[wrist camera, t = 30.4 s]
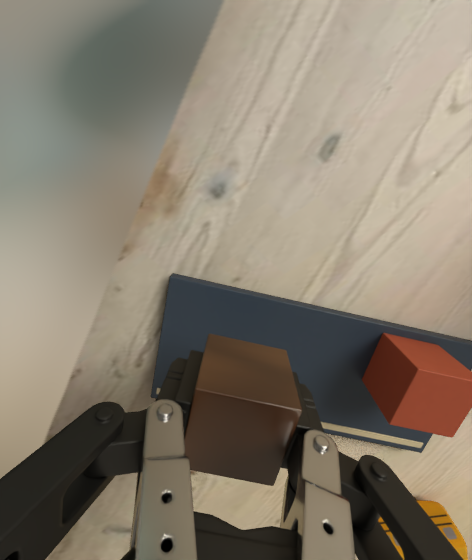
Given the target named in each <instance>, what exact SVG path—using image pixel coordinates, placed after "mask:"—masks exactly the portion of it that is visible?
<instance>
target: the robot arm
mask: <svg viewBox="0 0 472 560" xmlns="http://www.w3.org/2000/svg"><path fill="white" fill-rule="evenodd" d="M203 354H204V352H200V351H195V350H191V351H190V354H189V357H188V359H183V358H179V357H178V358H177V359H176V360H175V361H173V362H172V363H171V366H170V368H169V371H168V373H167V375H166V378H165V380H164V382H163V385H162V387H161V389H160V392H159V394H158V397H157V399H156V401H155V402H153V403H152V404H151V405H150V406H149V407H148V408H147V409H145V410H142V411H138V412H127V413H125V412H124V409H123V408H122V407H121V406H120V405H119V404H117V403H114V402H102V403H98V404H96V405H94V406H92V407H91V408H89V409H88V410H87V411H85V412H84V413H83V414H82V415H80V416H79V417H78V418H77V419H75V420H74V421H73V422H72V423H70V424H69V425H68V426H66V427H65V428H64V429H63V430H61V431H60V432H59V433H58V434H56V435H55V436H54V437H53V438H51V439H50V440H49V441H48V442H46V443H45V444H44V445H42V446H41V447H40V448H39V449H37V450H36V451H35V452H34V453H32V454H31V455H30V456H29V457H27V458H26V459H25V460H24V461H22V462H21V463H20V464H19V465H17V466H16V467H15V468H13V469H12V470H11V471H10V472H8V473H7V474H6V475H5V476H3V477H2V478H1V479H0V560H45V559H46V558H47V557H48V555H49V554H50V553H51V552H52V551H53V549H54V548H55V547H56V546H57V545H58V544H59V542H60V541H61V540H62V539H63V538H64V536H65V535H66V534H67V533H68V532H69V530H70V529H71V528H72V527H73V526H74V524H75V523H76V522H77V521H78V520H79V519H80V517H81V516H82V515H83V514H84V513H85V511H86V510H87V509H88V508H89V507H90V505H91V504H92V503H93V502H94V501H95V499H96V498H97V497H98V496H99V495H100V494H101V492H102V491H103V490H104V489H105V488H106V486H107V485H108V484H109V483H110V482H111V480H112V479H113V478H114V477H115V476H116V475H122V474H129V473H136V472H138V475H137V485H136V495H135V505H134V515H133V523H132V531H131V540H130V549H129V552H128V553H127V554H126V555H125V556H124V557H123V558H122V559H121V560H356V559H355V554H356V556H357V557H358V559H359V560H403V558H402V557H401V555H400V554H399V552H398V551H397V549H396V548H395V546H394V544H393V543H392V541H391V540H390V538H389V537H388V535H387V534H386V532H385V531H384V529H383V527H382V526H381V524H380V523H379V521H378V520H379V518H380V516H381V518H382V519H383V521H384V522H385V524H386V525H387V527H388V528H389V530H390V531H391V533H392V534H393V536H394V538H395V539H396V541H397V542H398V544H399V545H400V547H401V549H402V552H403V555H404V560H464V559H463V558H462V557H461V556H460V554H459V553H458V552H457V551H456V549H455V548H454V547H453V546H452V544H451V543H450V542H449V541H448V539H447V538H446V537H445V536H444V534H443V533H442V532H441V531H440V529H439V528H438V527H437V526H436V525H435V523H434V522H433V521H432V520H431V518H430V517H429V516H428V515H427V513H426V512H425V511H424V510H423V508H422V507H421V506H420V505H419V503H418V502H417V501H416V500H415V498H414V497H413V496H412V495H411V493H410V492H409V491H408V490H407V488H406V487H405V486H404V485H403V483H402V482H401V481H400V480H399V478H398V477H397V476H396V475H395V473H394V472H393V471H392V470H391V468H390V467H389V466H388V465H387V464H386V463H384V462H383V461H382V460H380V459H378V458H377V457H374V456H371V455H364V456H362V457H361V458H360V460H359V461H356V460H354V459H352V458H350V457H348V456H346V455H344V454H342V453H341V452H339V451H338V448H337V445H336V443H335V442H334V441H333V440H332V438H331V437H329V436H328V435H327V434H325V433H324V430H323V427H322V424H321V421H320V418H319V415H318V412H317V409H316V406H315V403H314V400H313V397H312V393H311V392H310V390H309V389H308V388H307V387H306V385H305V384H300V383H299V380H298V376H297V373H296V372H292V373H293V377H294V381H295V385H296V389H297V392H298V396H299V400H300V404H301V407H302V413H301V416H300V418H299V421H298V424H297V426H296V429H295V431H294V434H293V436H292V439H291V442H290V444H289V447H288V449H287V452H286V455H285V457H284V460H283V462H282V465H281V468H286V469H288V477H287V479H286V483H285V490H284V498H283V506H282V514H281V522H280V528H279V527H273V526H270V527H263V528H256V529H249V530H241V529H238V528H236V527H234V526H232V525H230V524H229V523H227V522H225V521H223V520H221V519H219V518H217V517H215V516H213V515H210V514H204V513H199V512H194V511H193V498H192V485H191V472H190V461H189V457H188V456H186V455H185V442H184V435H185V430H186V426H187V421H188V417H189V412H190V408H191V403H192V399H193V394H194V390H195V386H196V382H197V378H198V374H199V370H200V366H201V362H202V358H203Z"/></svg>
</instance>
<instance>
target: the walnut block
mask: <svg viewBox="0 0 472 560" xmlns="http://www.w3.org/2000/svg"><path fill="white" fill-rule="evenodd" d="M301 413H302V407H301V404H300V400H299V396H298V392H297V389H296V385H295V381H294V377H293V373H292V370H291V366H290V362H289V358H288V355H287V351H286V350H283V349H279V348H274V347H269V346H265V345H260V344H256V343H251V342H247V341H242V340H237V339H233V338H228V337H224V336H219V335H214V334H208V337H207V341H206V345H205V349H204V354H203V358H202V362H201V366H200V370H199V374H198V378H197V382H196V386H195V390H194V394H193V399H192V403H191V408H190V412H189V417H188V421H187V426H186V430H185V435H184V442H185V455H186V456H188V457H189V461H190V470H193V471H198V472H204V473H209V474H214V475H219V476H224V477H229V478H234V479H240V480H245V481H250V482H255V483H260V484H265V485H270V486H273V485H274V483H275V480H276V478H277V475H278V473H279V470H280V467H281V465H282V462H283V460H284V457H285V455H286V452H287V449H288V447H289V444H290V442H291V439H292V436H293V434H294V431H295V429H296V426H297V424H298V421H299V418H300V416H301Z"/></svg>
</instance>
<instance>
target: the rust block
mask: <svg viewBox="0 0 472 560" xmlns="http://www.w3.org/2000/svg"><path fill="white" fill-rule="evenodd" d="M362 381H363V383H364V384H365V386H366V388H367V389H368V391H369V392H370V394H371V396H372V397H373V399H374V401H375V402H376V404H377V405H378V407H379V409H380V410H381V412H382V414H383V415H384V417H385V418H386V420H387V422H388V423H389V424H390V425H395V426H399V427H404V428H409V429H414V430H419V431H423V432H428V433H433V434H438V435H443V436H447V437H453V436H454V435H455V433H456V431H457V430H458V428H459V427H460V425H461V424H462V422H463V420H464V419H465V417H466V416H467V414H468V413H469V411H470V409H471V408H472V372H471V371H470V370H469V369H467V368H466V367H465V366H464V365H462V364H461V363H460V362H459V361H457V360H456V359H455V358H454V357H452V356H451V355H450V354H449V353H447V352H446V351H445V350H444V349H442V348H441V347H440V346H439V345H436V344H432V343H427V342H423V341H418V340H414V339H409V338H405V337H400V336H396V335H391V334H387V333H383V334H382V336H381V338H380V341H379V343H378V345H377V347H376V349H375V352H374V354H373V356H372V358H371V360H370V363H369V365H368V367H367V369H366V371H365V373H364V376H363V378H362Z"/></svg>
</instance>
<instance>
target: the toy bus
mask: <svg viewBox="0 0 472 560" xmlns="http://www.w3.org/2000/svg"><path fill="white" fill-rule="evenodd" d="M416 501H417V502H418V503H419V505H420V506H421V507H422V508H423V510H424V511H425V512H426V513H427V515H428V516H429V517H430V518H431V520H432V521H433V522H434V523H435V525H436V526H437V527H438V528H439V529H440V531H441V532H442V533H443V534H444V536H445V537H446V538H447V539H448V541H449V542H450V543H451V544H452V546H453V547H454V548H455V549H456V551H457V552H458V553H459V554H460V556H461V557H462V558H463V559H464V560H468V557H467V546H466V543H465V541H464V539H463V537H462V535H461V534H460V532H459V530H458V529H457V527H456V525H455V524H454V522H453V521H452V519H451V518H450V516H449V515H448V513H447V511H446V510H445V508H444V507H443V506H442V505H441V504H439V503H437V502H434V501H419V500H416ZM378 521H379V523H380V524H381V526H382V527H383V529H384V531H385V532H386V534H387V535H388V537H389V538H390V540H391V541H392V543H393V544H394V546H395V548H396V549H397V551H398V552H399V554H400V555H401V557H402V558H403V560H404V555H403V552H402V549H401V547H400V545H399V544H398V542H397V541H396V539H395V538H394V536H393V534H392V533H391V531H390V530H389V528H388V527H387V525H386V524H385V522H384V521H383V519H382V518H381V516H380V518H379V520H378Z"/></svg>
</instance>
